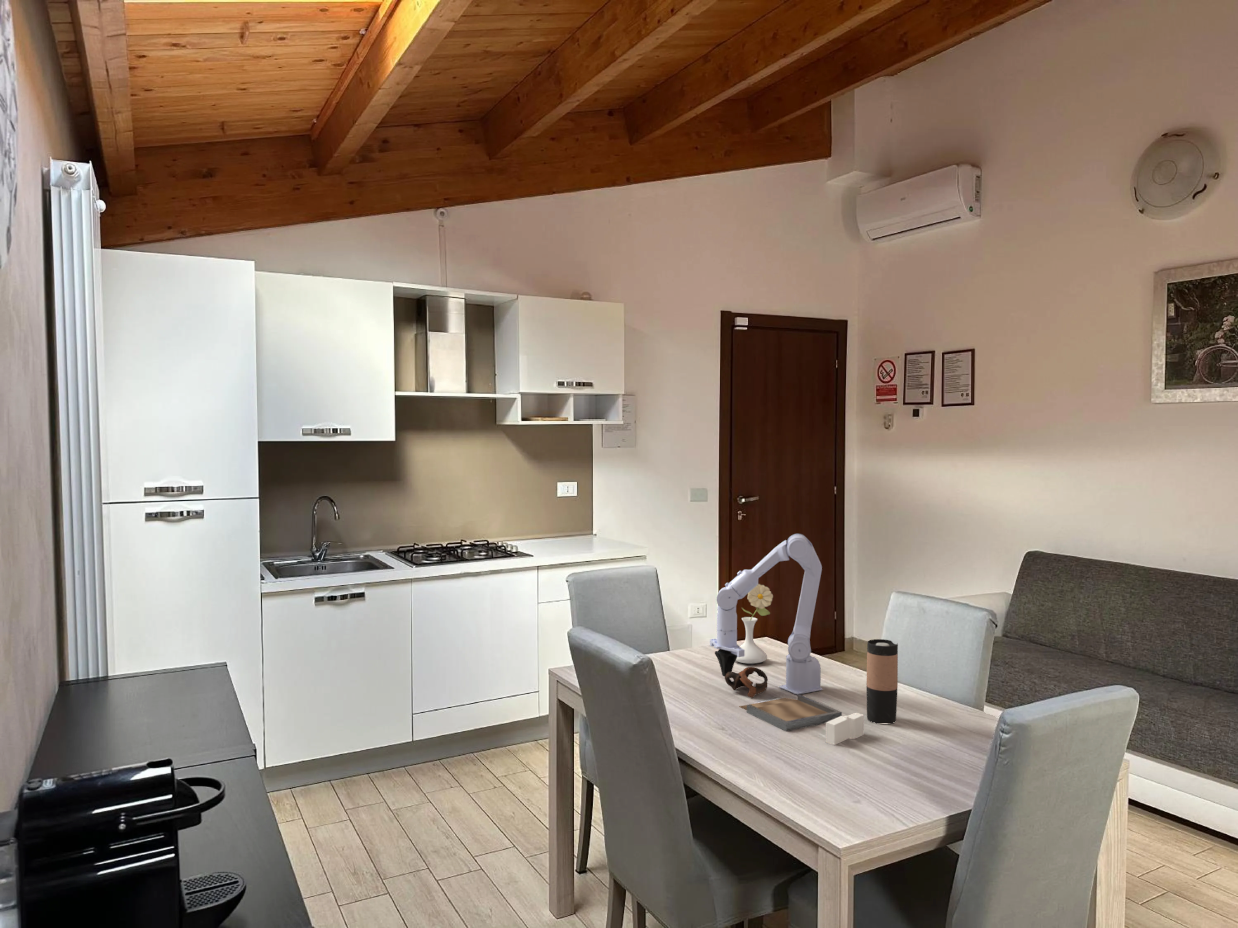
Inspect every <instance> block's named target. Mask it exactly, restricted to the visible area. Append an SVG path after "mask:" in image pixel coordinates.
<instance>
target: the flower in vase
mask: <svg viewBox="0 0 1238 928" xmlns="http://www.w3.org/2000/svg"><path fill="white" fill-rule="evenodd" d="M770 590H771V589H770V588H769V587H768V586H765V585H764V584H761V583H758V585H757V586H756V587H755V588H754V589H752V590H751V591H750V592H749V593H748V594H747V600H748V602H749V603H750V606H753V607H755V609H756V610H755V611H754V613H752V612H750V611H749V610H746V609H744V607H741V609H742V610H743V612H745V613H747V614H749V615H752V616H751V617H750V616H744V617H741V620H742V622H743V624H744V628H745V640H744V642H743V643H742V644H741V645H739V646H740V647H741V648H742V649H744V650H745V655H744V656H743V657H737V659H736V661H735V662H738V663H741V664H742V663H743V664H760V663H763V662H765V661H766V660H767V659H768V655H767V653H766V652H765V651H764V650H763V649H762V648H761V647H759V645H757V644H756V642H755V641H754V628H755V624H756V622H758V618H756V617H754V616H755V614H756V613H758V614H759V615H760V616H762V617H763V616H764V617H765V616H767V615H770V614H771V612H770V611H769V610H768V609H766V608H767V607H769V606H771V604H772V602H773V598H774V595H773V593H772V591H770Z"/></svg>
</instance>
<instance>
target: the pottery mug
mask: <svg viewBox="0 0 1238 928" xmlns="http://www.w3.org/2000/svg"><path fill="white" fill-rule="evenodd" d="M754 673H756V674H757V676H758V677H761V678H763V680H764V681H763V682H759V683H758V682H755V684H754V685H753V683H754V682H753V681H752V680H750V679H749V676H751V675H752V674H754ZM731 679H733V680H731ZM768 679H769V678H768V675H767V674H766V673H765V671H763V670H762V669H760V668H758V667H753V666H747V667H745V668H743V670H741V671H739V672H736V671H732V672H728V673H727V674H726V675H725V677H724V682H725V683H726V684H727V685H728V686H729V687H730V688H731V689H732V690H733V691H734V692H735V691H737V690H738V689H739V688H742V687H743V688H747V689H749V691H748V693H747V697H748V698H751V699H753V698H754V697H755V696H756V695H759V694H761V693H763V692H765V691H766V690H767V688H768V682H769V681H768Z"/></svg>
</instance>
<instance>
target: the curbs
mask: <svg viewBox="0 0 1238 928" xmlns="http://www.w3.org/2000/svg"><path fill="white" fill-rule="evenodd" d="M796 695H797V694H796ZM796 700H799V701H802V702H804V703H806V704H809V705H811V706H813V707H816V708H818V709H820V710H823V711H825V712H827V713H825V714H820V715H815V716H810V717H805V718H800V719H795V720H790V721H785V720H783V719H780V718H778V717H776V716H774V715H772V714H770V713H768V712H765V711H763V710H761V709H759V708H757V707H755V706H752V705H750V704H751V703H749V704H746V705H747V710H746V713H747V714H749V715H751V716H753V717H756V718H758V719H760V720H762V721H764V722H766V723H768V724H770V725H773V726H774V727H776V728H778V729H781V730H783V731H785V732H791V731H795V730H799V729H805V728H809V727H814V726H819V725H823V724H826V722H828V721H831V720H833V719H835V718H838V717H840V716H843V712H842V711H840V710H838V709H835V708H833V707H831V706H829V705H825V704H823V703H821V702H819V701H816V700H813V699H812V698H809V697H807V696H804V695H803V694H798V695H797V699H796Z"/></svg>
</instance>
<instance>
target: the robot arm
mask: <svg viewBox="0 0 1238 928" xmlns="http://www.w3.org/2000/svg"><path fill="white" fill-rule="evenodd" d="M790 558H791V559H793V561H796V562H797V563H798V564H799V565H800V566H801V568H802V569H803V570H804V574H803V578H802V584H801V590H800V596H799V600H798V605H797V612H796V615H795V622H794V626H793V630H792V632H791V634H790V635H789V637H788V639H787V646H788V648H787V652H788V654H787V655H786V656H785V667H786V668H785V669H786V670H785V684H781V685H779V688H780V689H781V690H785V691H786V692H790V693H791V694H794V695H803V694H807V693H808V694H809V693H814V692H818V691H823V687H821V678H822V677H821V675H822V672H821V671H822V669H821V663H820V661H819V660H818V659H817V658H816V657H815V656H812V655H811V653H812V649H811V641H810V639H811V630H812V624H813V618H814V614H815V608H816V604H817V603H816V602H817V598H818V591H819V586H820V582H821V575H822V571H823V569H822V568H823V566H822V563H821V561H820V558H819V556H818V555H817V552H816V550H815V548H814V546H813V543H812V542H811V541H810V540H809V539H808V537H806V536H805V535H804V534H802V533H794V534H792V535H790V536H789V537H788V538H787V540H786V539H785V540H783V541H782V542H781V543H779V544H777V546H775V547H774V548H773V549H772V550H771V551H770V552H769V553H768V554H767V555H765V556H764V557H763V558H762V559H761V560H760V561H759V562H757V564H756V565H755V566H753V567H752V568H751V569H743V570H739V571H738V572H737V573H736V574H737V575H736V576H735V577H734V578H733V579H732V580H731V581H729V582H726V583H725V584H724V586H725V587H722V588H721V589H720V590H719V591H718V593H717V594H716V604H717V607H716V609H717V610H716V611H717V613H716V638H710V639H709V646H710V647H713V648H714V649H715V651H714V655H715V656H716V658H717V660H718V663H719V668H720V670H721V675H722V677H724V678H725V675H726V674H727V673H728V672H733V669H734V665H735V663H736V662H737V661H736V659H737V657H743V656H744V655H745V650H744V649H742V648H741V647H740V646H741V645H738V642H737V641H738V629H737V628H738V614H737V604H738V600H742V599H743V598H745V597H746V596H748V593H749V592H750V591H751V590H752V589H754V588H755V587H756V586H757V585H758V584H759V578H761V577H762V576H763V575H764V574H766V573H767V572H768V571H770V569H772V568H773V567H775V565H777V564H778V563H779V562H784V561H785V562H786V561H790Z"/></svg>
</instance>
